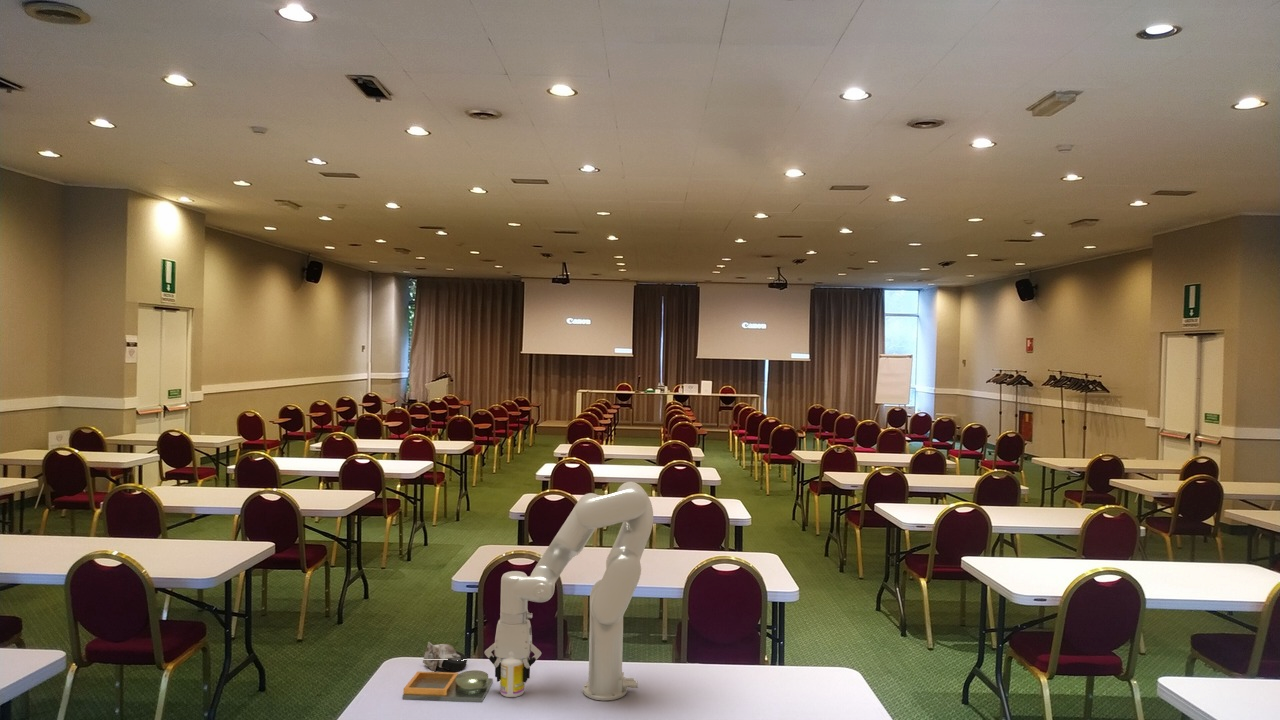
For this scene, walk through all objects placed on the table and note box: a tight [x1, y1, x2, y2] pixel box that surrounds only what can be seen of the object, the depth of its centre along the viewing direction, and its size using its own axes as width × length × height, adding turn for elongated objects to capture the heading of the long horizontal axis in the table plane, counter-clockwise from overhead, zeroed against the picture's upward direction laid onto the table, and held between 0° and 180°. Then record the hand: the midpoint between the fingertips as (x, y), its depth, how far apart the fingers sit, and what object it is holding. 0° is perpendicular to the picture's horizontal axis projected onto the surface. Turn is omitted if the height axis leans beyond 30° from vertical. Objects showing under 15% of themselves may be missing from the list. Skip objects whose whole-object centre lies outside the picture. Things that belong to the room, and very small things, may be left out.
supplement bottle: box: [499, 651, 525, 698], centre depth 217 cm, size 7×7×13 cm
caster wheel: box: [422, 641, 468, 672], centre depth 235 cm, size 7×11×10 cm
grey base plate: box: [402, 669, 494, 703], centre depth 218 cm, size 22×13×4 cm, turn 88°
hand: (512, 679), depth 217 cm, fingers open, 6 cm apart
